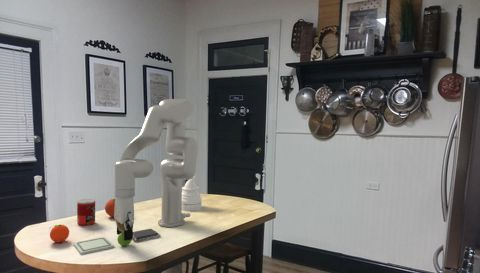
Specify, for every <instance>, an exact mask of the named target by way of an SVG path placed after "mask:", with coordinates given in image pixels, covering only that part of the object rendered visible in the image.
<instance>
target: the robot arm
mask: <svg viewBox="0 0 480 273" xmlns="http://www.w3.org/2000/svg"><path fill="white" fill-rule="evenodd" d="M193 112H194V104H193V102H192V101H191V100H190V99H188V98H187V99H186V98H170V99H169V98H167V99H162V100H161V101H160V102H159V105H158V104H156V105H152V106H151V107H150V108H149V109H148V111H147V114H146V117H145V119H144V122H143V124H142V127H141V130H140V133H139V134H138V135H137V136H136V137H135V138H133V140H131V142H129V143H128V144H127V145H126V146H125V148H124V150H123V152H122V153H121V157H120V158H119V160H118V161H116V162H115V165H114V199H115V207H114V217H113V218H114V220H115V219H117V221H118V222H119V224H120V223H121V224H123V223H124V227H125V230H124V240H125V241H127V240H131V239H133V232H134V231H133V230H134V223H135V201H134V197H135V196H136V179H146V178H147V177H149V176H151V174H152V173H153V171H154V166H153V164H152V162H151V161H149V160H148V159H143V158H142V159H140V158H136V157H137V156H138V155H139V153H140V152H142V151H143V150H145V149H146V148H148V147H150V146H153V145H155V144H157V143H159V141H160V138H161V136H162V133H163V130H164V127H165V125H166V126H167V128H166V138H165V146H164V147H165V152H166V153H167V155H169V156H174V158H173V157H172V158H171V157H170V158H168V157H167V158H164V159H163V160H162V161H161V162H160V163H159V174H160V178H161V218H160V219H159V220H158V221H157V223H158V226H160V227H164V228H165V227H166V228H174V227H180V226H183V225H184V224H185V222H186V221H185V218H190V217H191V213H190V212H187V213H186V212H182V211H183V210H182V187H183V186H182V183H181V181H180V180H187V181H188V180H190V179H192V178H193V177H194V176H195V174H196V170H197V163H198V162H197V161H198V150H199V148H198V147H199V146H198V142H197V140H196V138H194V137H192V136H185V132H186V131H185V129H186V127H185V122H184V120H187V119H188V118H189V117H191V116H192V114H193ZM175 156H176V157H183V159H182V158H175ZM115 216H116V217H115ZM126 221H129V222H126ZM127 224H128V226H127ZM120 233H122V232H121V231H119V230H118V228H117V227H116V235H118V236H119V234H120Z"/></svg>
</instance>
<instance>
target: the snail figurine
mask: <svg viewBox="0 0 480 273" xmlns="http://www.w3.org/2000/svg"><path fill="white" fill-rule="evenodd" d="M115 217H116V216H115ZM114 220H115V224H116V229H117V228H118V230H119V231H121V232H122V233H120V234H119V235H118V236H117V243H118V244H119V246H120V245H121V246H122V247H125V246H128V245H130V244H131V243H132V241H133V240H132V239H131V240H127V241H125V240H124V230H125V227H124V223H123V224H121V223H120V224H119V222H118V221H117V219H114ZM126 222H129V221H126ZM127 226H128V224H127Z"/></svg>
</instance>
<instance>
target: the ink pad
mask: <svg viewBox="0 0 480 273" xmlns="http://www.w3.org/2000/svg"><path fill="white" fill-rule="evenodd" d="M158 238H161V233H159V232H157V231H156V230H154V229H153V228H145V229H141V230H137V231H133V239H132V241H133V242H134V243H138V242H143V241H148V240H153V239H158Z"/></svg>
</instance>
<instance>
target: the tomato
mask: <svg viewBox="0 0 480 273" xmlns="http://www.w3.org/2000/svg"><path fill="white" fill-rule="evenodd" d="M114 207H115V198H112V199H109V200H108V201H107V202H106V204H105V205H104V211H105V213H106V214H107V216H109V217H113V218H114Z"/></svg>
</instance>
